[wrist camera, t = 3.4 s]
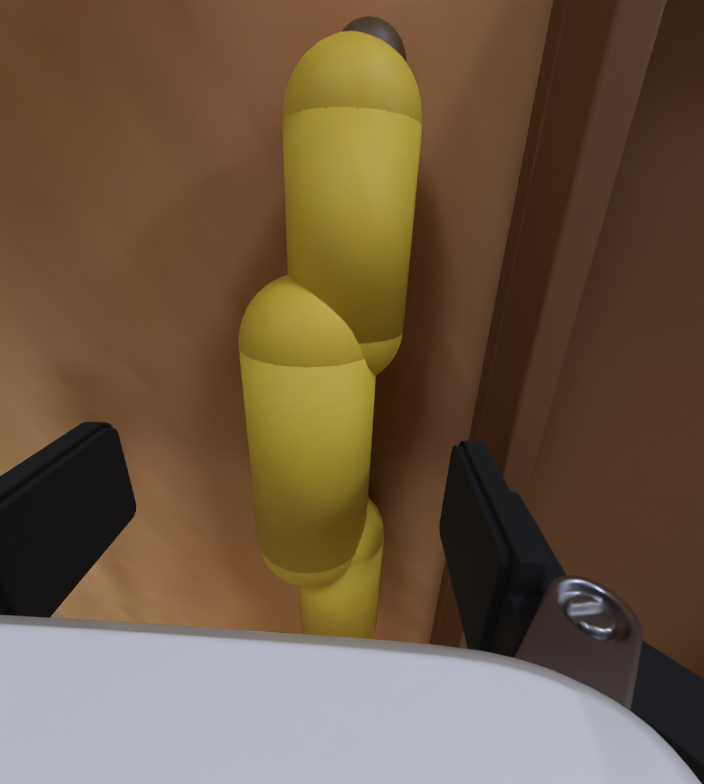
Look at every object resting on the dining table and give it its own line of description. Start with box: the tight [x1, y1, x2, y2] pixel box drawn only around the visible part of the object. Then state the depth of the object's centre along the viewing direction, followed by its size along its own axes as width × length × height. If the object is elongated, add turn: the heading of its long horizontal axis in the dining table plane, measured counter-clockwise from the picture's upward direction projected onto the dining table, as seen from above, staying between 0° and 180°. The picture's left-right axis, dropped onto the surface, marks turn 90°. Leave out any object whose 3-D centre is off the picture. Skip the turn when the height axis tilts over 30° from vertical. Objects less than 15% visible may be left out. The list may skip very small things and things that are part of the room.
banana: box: [239, 16, 422, 639], centre depth 11 cm, size 20×4×4 cm, turn 178°
